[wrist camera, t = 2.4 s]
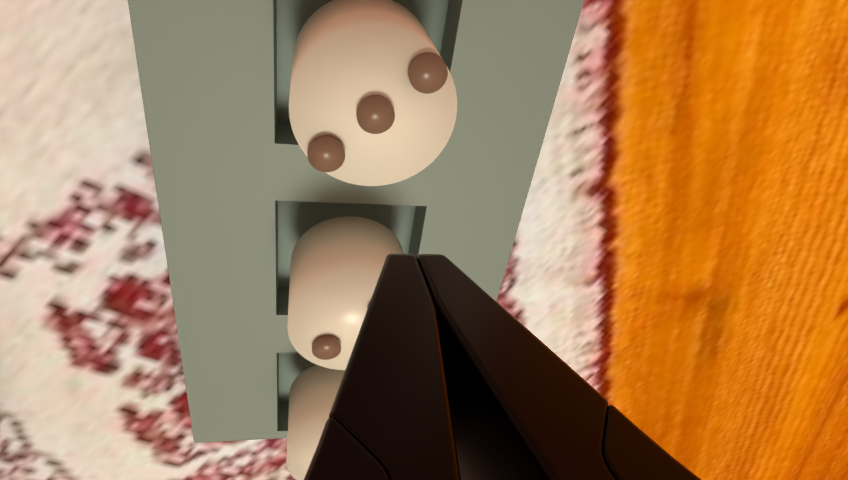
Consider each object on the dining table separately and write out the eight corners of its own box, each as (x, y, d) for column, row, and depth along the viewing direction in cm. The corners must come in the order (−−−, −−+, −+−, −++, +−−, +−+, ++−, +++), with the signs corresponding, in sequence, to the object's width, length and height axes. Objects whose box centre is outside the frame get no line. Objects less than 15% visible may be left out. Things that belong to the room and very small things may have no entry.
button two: (290, 305, 20) (286, 377, 17) (291, 213, 18) (287, 280, 15) (396, 304, 21) (409, 373, 18) (410, 217, 19) (427, 281, 16)
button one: (289, 423, 24) (286, 497, 21) (289, 361, 22) (286, 434, 19) (378, 419, 25) (387, 489, 22) (388, 358, 23) (398, 428, 20)
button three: (291, 129, 16) (288, 186, 14) (293, -16, 14) (288, 18, 11) (423, 137, 17) (444, 193, 14) (444, 2, 15) (473, 38, 12)
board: (201, 404, 25) (194, 442, 24) (137, -93, 14) (114, -85, 13) (450, 395, 28) (459, 428, 26) (562, -32, 17) (589, -19, 15)
